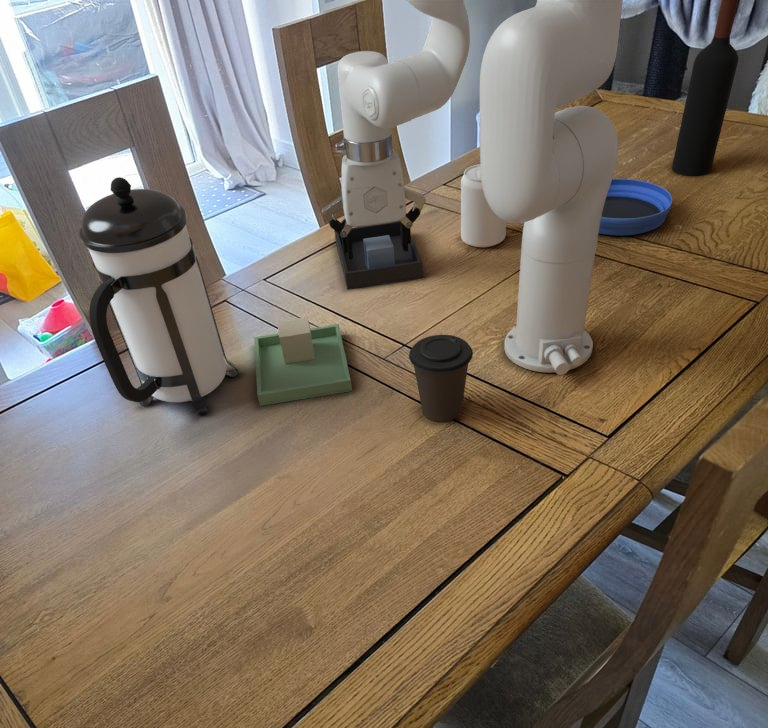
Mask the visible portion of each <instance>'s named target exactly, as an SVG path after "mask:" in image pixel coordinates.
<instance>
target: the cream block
mask: <svg viewBox="0 0 768 728" xmlns="http://www.w3.org/2000/svg"><path fill="white" fill-rule="evenodd" d="M310 329H311V326H310V321H309V316H304V317H303V316H302V317H296V318H291V319H284V320H278V321H277V330H278V334H279V339H280V344H281V349H282V353H283V358H284V362H285V364H287V363H294V362H300V361H306V360H313V359H315V355H314V349H313V342H312V337H311V331H310Z"/></svg>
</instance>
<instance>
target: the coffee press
mask: <svg viewBox="0 0 768 728" xmlns="http://www.w3.org/2000/svg"><path fill="white" fill-rule="evenodd" d="M110 191H111V192H112V194H108V195H106V196H104V197H102V198H99V199H98V200H96V201H95V202H94V203H93V204H92V205H90V206H89V207H88V208H87V209H86V210H85V212H84V214H83V215H82V218H81V224H80V225H81V227H80V229H79V238H80V241H81V243H82V244H83V246H84V247H85V248H86V249H87V250H88V252H89V254H90V256H91V258H92V266H93V268H94V271H95V273H96V276H97V279H98V281H99V283H100V285H99V286H98V287H97V288H96V290H95V292H94V293H93V295H92V297H91V299H90V304H89V311H88V312H89V324H90V329H91V332H92V336H93V338H94V341H95V344H96V346H97V348H98V350H99V353H100V356H101V358H102V360H103V362H104V365H105V367H106V369H107V371H108V374H109V376H110V378H111V381H112V383H113V384H114V386H115V388H116V390H117V392H118V393H119V394H120V396H121V397H122V398H123V399H125V400H127V401H130V402H134V403H139V405H140V406H142V407H147V406H150V404H151V403H152V400H153V399H157V400H160V401H163V402H168V403H185V402H186V403H187V402H191V403H192V405H193V407H194V411H195V413H196V415H197V416H201V415H204V414H207V413H208V411H207V409H206V406H205V402H204V401H203V397H204V396H206V395H208V394H210V393H212V392H213V391H214V390H215V389H217V388H218V387H219V386H220V385H221V384H222V382H223V380H224V379H225V376H226V377H227V376H228V377H230V378H236V377H238V375H239V370H238V368H237V366H236V365H235V364H234V363H233V362H231V361H230V360H229V359H227V356H226V352H225V350H224V345H223V343H222V339H221V336H220V333H219V328H218V325H217V322H216V318H215V315H214V311H213V308H212V305H211V301H210V297H209V294H208V290H207V287H206V284H205V280H204V277H203V274H202V269H201V266H200V263H199V260H198V256H197V252H196V249H195V245H194V243H193V239H192V238H191V237H190V236H189V231H188V229H187V224H188V216H187V213H186V210H185V208H183V206H181V205H180V204H178V202H177V201H176V200H175V199H174V198H173V197H172V196H170V195H169V194H167V193H166V192H163V191H159V190H156V189H150V188H133V189H132V184H130V182H129V181H128V180H127V179H126V178H124V177H115V178H114V179H112V180H111V182H110ZM108 307H109V308H110V310H111V313H112V315H113V318H114V321H115V323H116V326H117V327H118V330H119V332H120V335H121V338H122V340H123V342H124V346H125V348H126V350H127V353H128V355H129V357H130V360H131V362H132V365H133V367H134V369H135V372H136V375H137V377H138V380H139V383H140V385H139V386H138V387H135V386H134V385H133V383H132V382H131V380H130V377H129V376H128V373H127V371H126V369H125V366H124V364H123V361H122V359H121V357H120V354H119V352H118V349H117V346H116V345H115V342H114V340H113V337H112V335H111V333H110V329H109V325H108V320H107V318H108V317H107V313H108ZM226 364H228V365H229V366H230V367H232V368H233V369H234V370H233V371H228V370H227V365H226Z"/></svg>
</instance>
